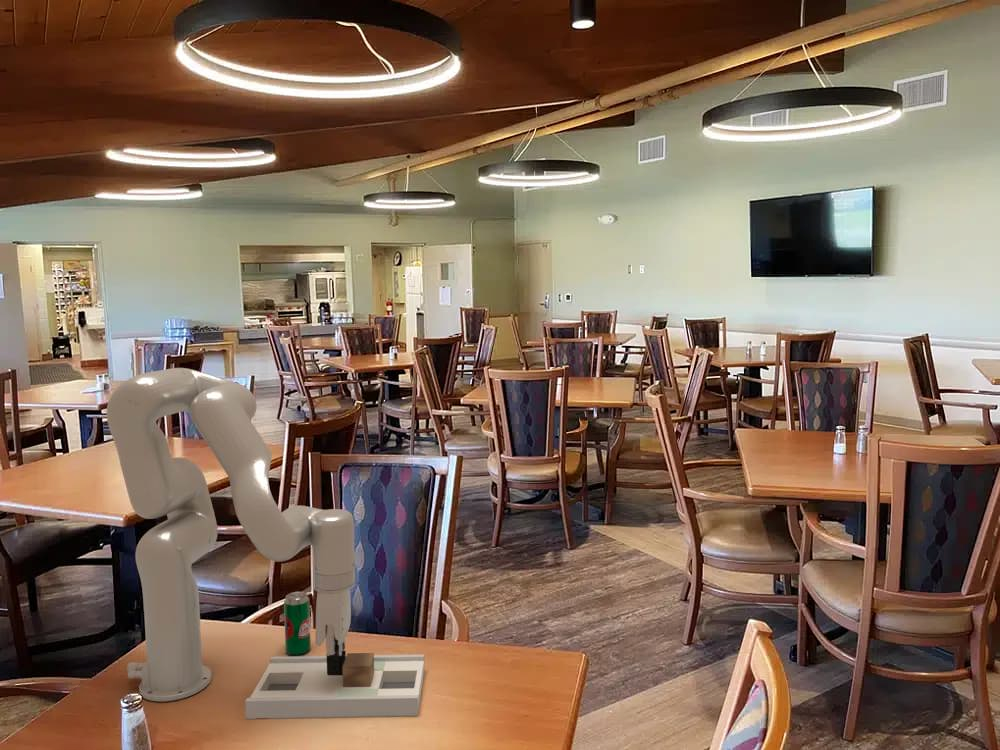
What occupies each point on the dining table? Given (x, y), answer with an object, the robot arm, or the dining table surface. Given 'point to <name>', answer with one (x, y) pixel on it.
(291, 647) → the soda can
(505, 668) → the dining table surface
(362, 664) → the walnut block
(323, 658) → the box
